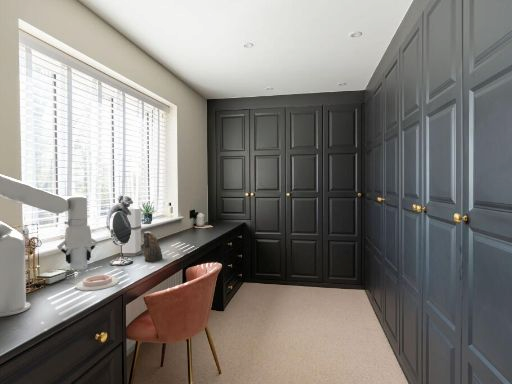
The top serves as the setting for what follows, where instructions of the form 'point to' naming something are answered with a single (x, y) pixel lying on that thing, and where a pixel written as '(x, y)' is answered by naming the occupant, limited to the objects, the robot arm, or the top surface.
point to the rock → (151, 248)
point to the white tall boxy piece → (134, 234)
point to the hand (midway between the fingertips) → (78, 261)
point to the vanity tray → (80, 287)
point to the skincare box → (78, 258)
